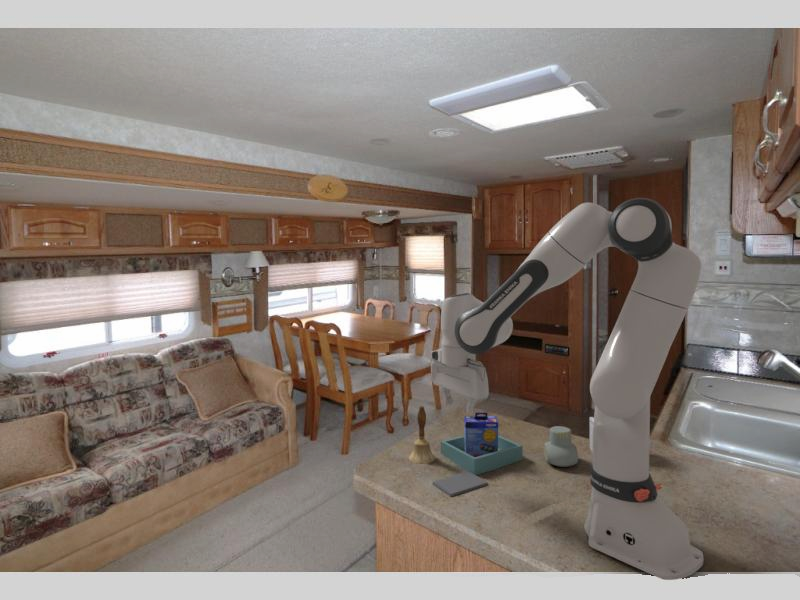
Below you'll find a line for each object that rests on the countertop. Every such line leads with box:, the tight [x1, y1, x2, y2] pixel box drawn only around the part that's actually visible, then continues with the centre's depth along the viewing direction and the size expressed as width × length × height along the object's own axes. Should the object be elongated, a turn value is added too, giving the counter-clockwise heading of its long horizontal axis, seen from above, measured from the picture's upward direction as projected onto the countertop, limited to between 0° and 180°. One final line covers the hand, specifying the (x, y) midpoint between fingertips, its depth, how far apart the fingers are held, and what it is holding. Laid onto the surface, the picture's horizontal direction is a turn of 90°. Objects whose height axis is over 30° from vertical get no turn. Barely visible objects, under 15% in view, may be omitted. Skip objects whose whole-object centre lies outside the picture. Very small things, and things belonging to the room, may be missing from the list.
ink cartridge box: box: [463, 412, 499, 457], centre depth 136 cm, size 10×6×14 cm, turn 87°
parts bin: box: [440, 434, 524, 476], centre depth 137 cm, size 16×18×4 cm
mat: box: [432, 471, 489, 497], centre depth 120 cm, size 8×12×1 cm, turn 120°
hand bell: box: [408, 406, 436, 465], centre depth 137 cm, size 8×8×16 cm
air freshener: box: [543, 425, 579, 468], centre depth 132 cm, size 11×8×10 cm
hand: (458, 408), depth 119 cm, fingers open, 7 cm apart
